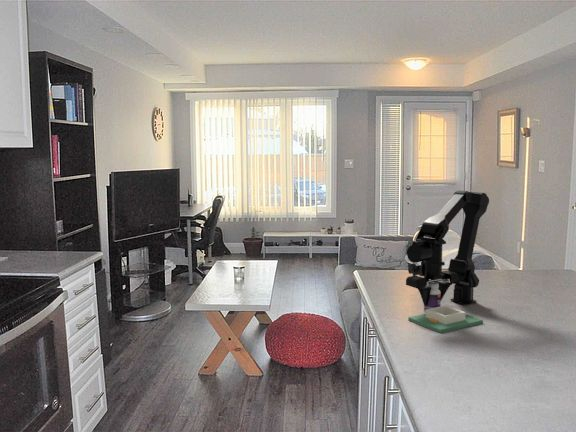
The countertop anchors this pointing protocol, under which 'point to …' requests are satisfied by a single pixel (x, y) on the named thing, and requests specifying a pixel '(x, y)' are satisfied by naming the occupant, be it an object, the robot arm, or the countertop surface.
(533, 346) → the countertop surface
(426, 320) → the board
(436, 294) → the pill bottle
